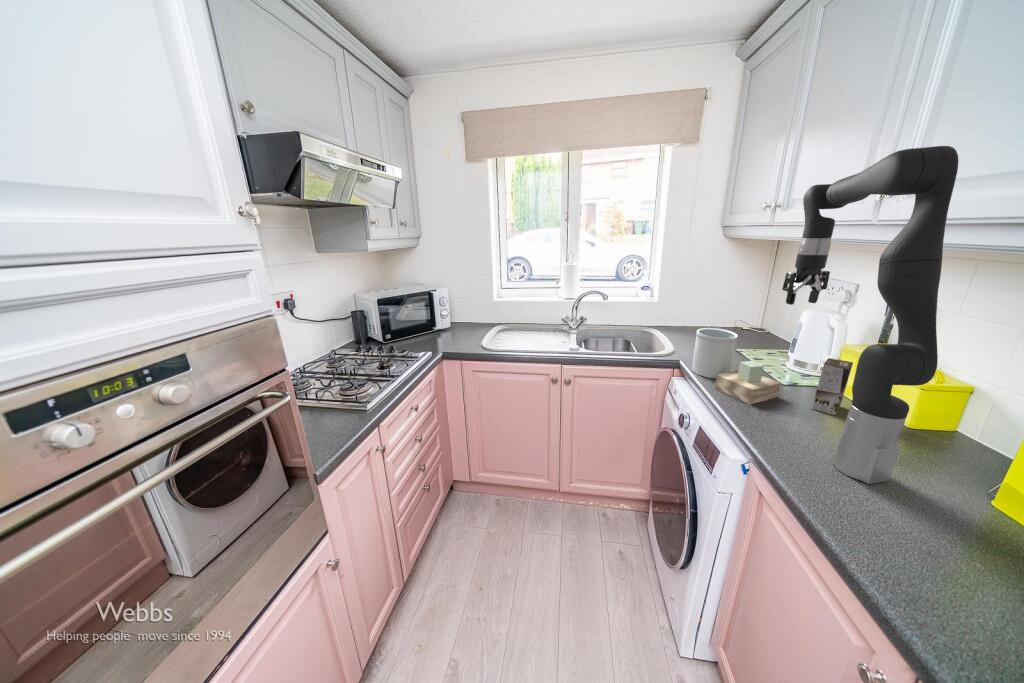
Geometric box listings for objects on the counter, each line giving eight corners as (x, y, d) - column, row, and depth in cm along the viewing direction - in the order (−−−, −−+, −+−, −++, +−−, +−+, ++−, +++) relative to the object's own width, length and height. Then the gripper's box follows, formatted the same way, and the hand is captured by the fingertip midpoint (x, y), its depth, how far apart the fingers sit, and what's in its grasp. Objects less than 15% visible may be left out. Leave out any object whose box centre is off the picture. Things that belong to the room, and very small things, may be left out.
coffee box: (836, 416, 112) (850, 369, 107) (810, 408, 117) (822, 364, 112) (840, 406, 118) (854, 362, 113) (816, 400, 123) (828, 357, 118)
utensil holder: (723, 366, 153) (730, 328, 148) (736, 380, 139) (744, 338, 134) (687, 364, 156) (692, 327, 151) (696, 378, 143) (702, 337, 137)
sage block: (760, 381, 125) (763, 366, 123) (747, 382, 125) (750, 366, 123) (749, 376, 130) (752, 361, 128) (737, 377, 129) (740, 361, 128)
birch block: (777, 398, 126) (780, 382, 124) (749, 405, 121) (752, 389, 119) (740, 383, 138) (743, 369, 136) (714, 389, 134) (716, 374, 132)
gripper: (804, 254, 106) (792, 307, 111) (844, 252, 108) (830, 304, 113) (782, 253, 113) (772, 302, 118) (820, 251, 115) (808, 300, 120)
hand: (800, 303), depth 115 cm, fingers open, 8 cm apart
